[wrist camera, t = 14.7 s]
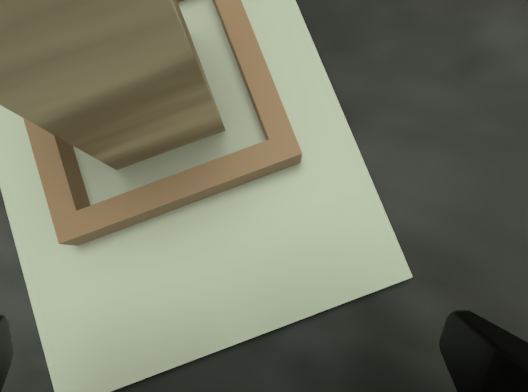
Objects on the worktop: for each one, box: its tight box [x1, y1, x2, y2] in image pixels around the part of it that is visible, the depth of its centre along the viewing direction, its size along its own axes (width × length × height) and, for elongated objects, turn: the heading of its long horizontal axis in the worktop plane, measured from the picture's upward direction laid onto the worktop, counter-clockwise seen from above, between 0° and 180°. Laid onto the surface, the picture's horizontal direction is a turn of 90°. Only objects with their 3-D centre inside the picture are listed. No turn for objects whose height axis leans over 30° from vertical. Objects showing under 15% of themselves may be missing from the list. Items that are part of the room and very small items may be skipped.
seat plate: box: [0, 0, 413, 392], centre depth 17 cm, size 22×15×5 cm
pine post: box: [0, 0, 225, 170], centre depth 12 cm, size 5×5×13 cm
